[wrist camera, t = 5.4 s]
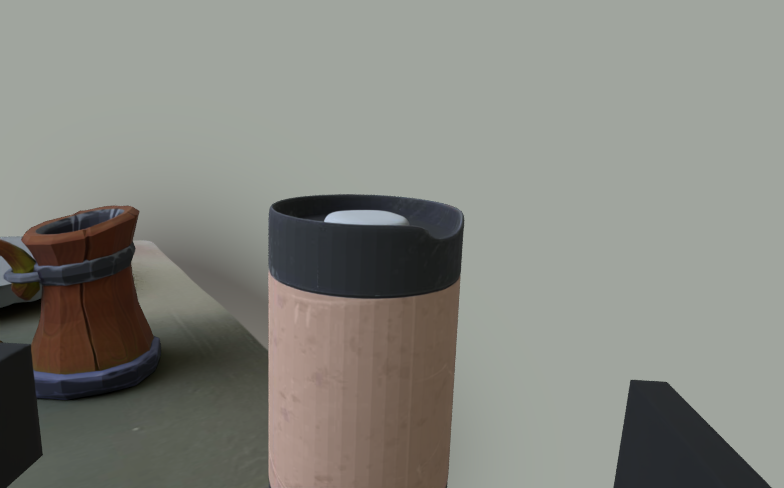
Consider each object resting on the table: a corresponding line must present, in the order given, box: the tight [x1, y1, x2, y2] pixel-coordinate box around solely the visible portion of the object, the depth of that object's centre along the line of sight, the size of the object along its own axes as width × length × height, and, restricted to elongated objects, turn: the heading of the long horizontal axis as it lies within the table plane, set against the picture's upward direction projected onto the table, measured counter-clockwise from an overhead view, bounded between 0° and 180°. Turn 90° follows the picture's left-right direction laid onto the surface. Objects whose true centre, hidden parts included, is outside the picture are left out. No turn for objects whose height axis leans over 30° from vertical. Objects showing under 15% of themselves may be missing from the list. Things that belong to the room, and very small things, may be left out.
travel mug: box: [269, 194, 464, 488], centre depth 23 cm, size 8×8×20 cm
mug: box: [0, 206, 161, 400], centre depth 45 cm, size 18×12×15 cm, turn 125°
